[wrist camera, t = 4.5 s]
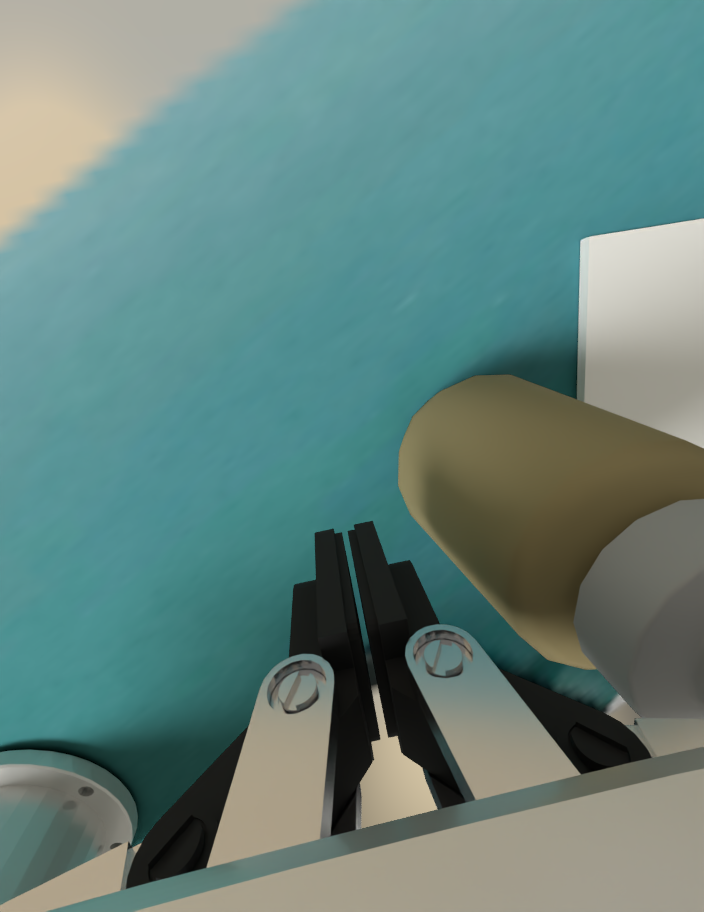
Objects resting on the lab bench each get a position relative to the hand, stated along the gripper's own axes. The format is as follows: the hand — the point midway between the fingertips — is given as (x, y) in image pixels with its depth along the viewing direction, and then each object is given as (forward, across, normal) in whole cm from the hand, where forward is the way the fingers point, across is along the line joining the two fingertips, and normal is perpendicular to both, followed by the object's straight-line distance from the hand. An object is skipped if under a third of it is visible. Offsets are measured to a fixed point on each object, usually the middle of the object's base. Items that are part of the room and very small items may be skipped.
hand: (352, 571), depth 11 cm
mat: (+10, -20, 0) cm, 22 cm away
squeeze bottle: (+10, -7, 0) cm, 12 cm away
